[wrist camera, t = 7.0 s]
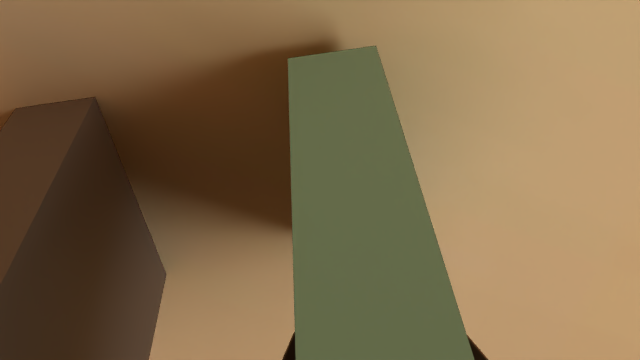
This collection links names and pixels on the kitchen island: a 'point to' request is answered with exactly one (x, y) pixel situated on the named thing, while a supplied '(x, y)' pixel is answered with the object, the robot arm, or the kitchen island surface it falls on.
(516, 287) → the kitchen island surface
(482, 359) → the robot arm
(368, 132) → the domino
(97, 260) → the domino
